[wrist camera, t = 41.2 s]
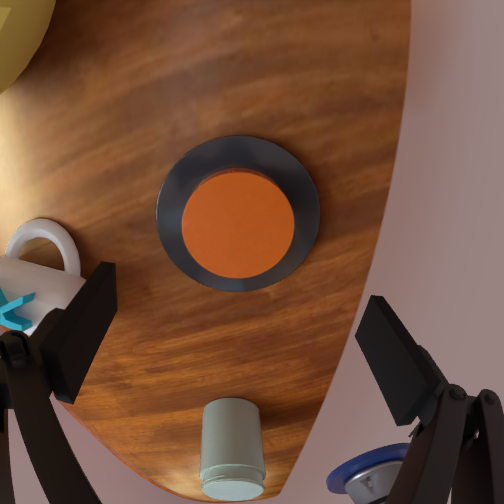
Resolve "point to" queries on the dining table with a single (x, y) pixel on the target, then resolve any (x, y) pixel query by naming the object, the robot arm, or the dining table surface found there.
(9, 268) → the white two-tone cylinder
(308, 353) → the dining table surface
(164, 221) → the mat
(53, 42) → the dining table surface
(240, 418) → the jar
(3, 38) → the vase
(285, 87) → the dining table surface
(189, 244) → the lid
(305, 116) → the dining table surface
